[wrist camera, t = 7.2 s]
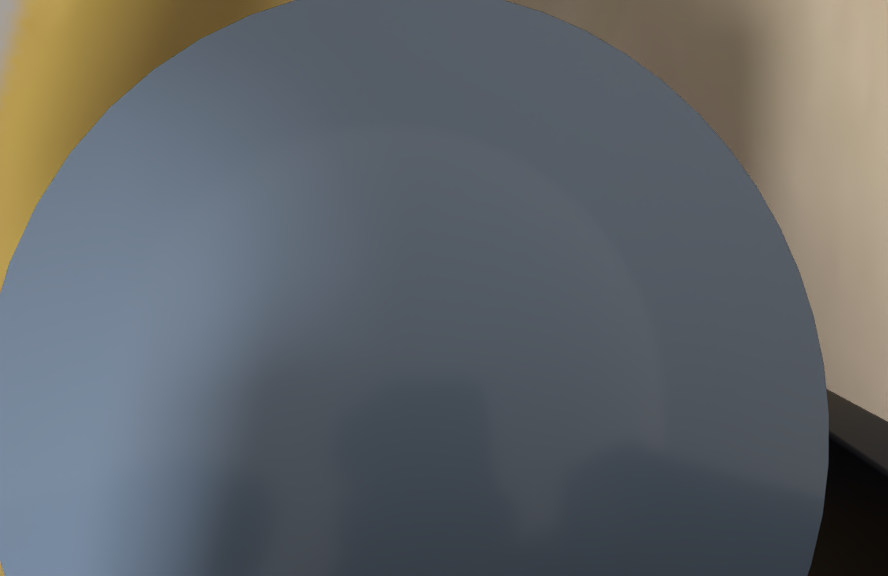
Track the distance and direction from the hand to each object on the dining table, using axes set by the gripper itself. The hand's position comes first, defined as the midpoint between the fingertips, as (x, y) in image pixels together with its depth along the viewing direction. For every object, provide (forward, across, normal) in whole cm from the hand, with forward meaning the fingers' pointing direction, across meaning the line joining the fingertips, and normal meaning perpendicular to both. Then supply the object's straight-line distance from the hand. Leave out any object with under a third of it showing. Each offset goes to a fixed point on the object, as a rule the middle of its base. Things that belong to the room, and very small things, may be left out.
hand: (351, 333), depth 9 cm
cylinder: (+5, 0, +6) cm, 8 cm away
